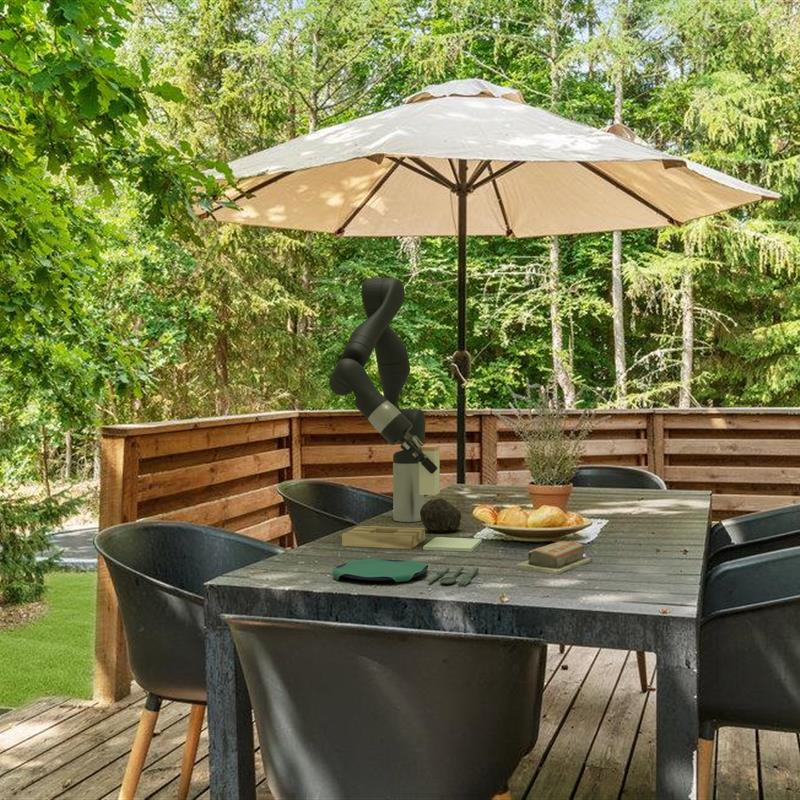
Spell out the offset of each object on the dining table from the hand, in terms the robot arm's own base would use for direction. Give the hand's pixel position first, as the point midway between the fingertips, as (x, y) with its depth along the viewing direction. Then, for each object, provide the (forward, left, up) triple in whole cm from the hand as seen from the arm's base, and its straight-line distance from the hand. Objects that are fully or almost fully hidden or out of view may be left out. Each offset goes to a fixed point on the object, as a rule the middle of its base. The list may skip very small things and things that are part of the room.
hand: (436, 470), depth 232 cm
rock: (-22, -4, -19) cm, 29 cm away
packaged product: (+19, +31, -20) cm, 42 cm away
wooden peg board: (0, -14, -19) cm, 24 cm away
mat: (0, +4, -19) cm, 19 cm away
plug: (0, -2, -6) cm, 6 cm away
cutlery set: (+39, +2, -20) cm, 43 cm away
